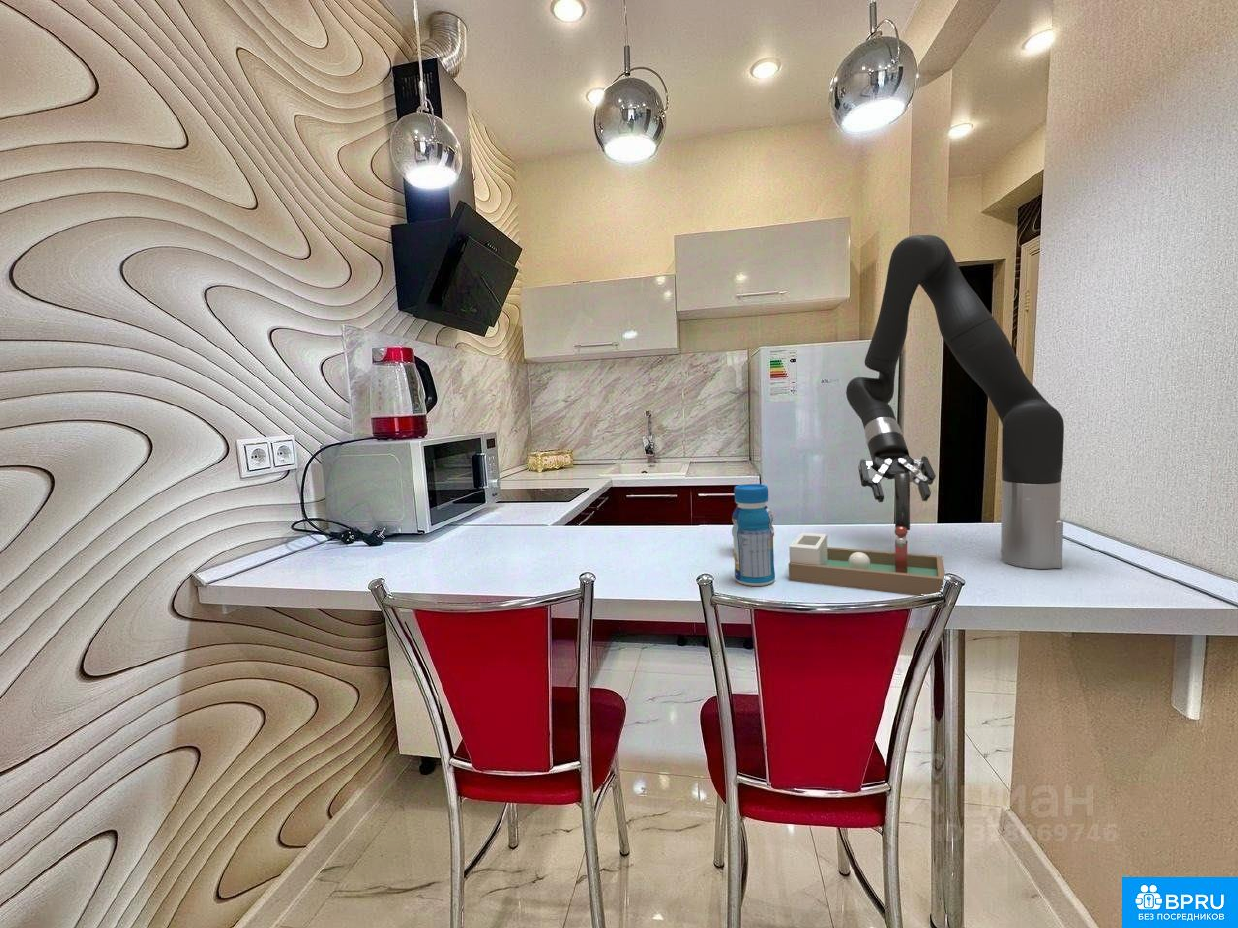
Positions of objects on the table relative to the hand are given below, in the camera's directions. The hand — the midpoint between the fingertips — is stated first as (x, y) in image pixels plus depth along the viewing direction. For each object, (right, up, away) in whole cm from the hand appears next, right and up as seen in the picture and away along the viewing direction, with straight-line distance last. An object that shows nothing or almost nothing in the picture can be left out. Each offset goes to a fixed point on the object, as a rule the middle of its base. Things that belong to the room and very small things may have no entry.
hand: (903, 499), depth 103 cm
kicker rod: (-2, -14, -2) cm, 14 cm away
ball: (-11, -13, -2) cm, 17 cm away
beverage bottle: (-31, -17, 0) cm, 36 cm away
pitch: (-10, -16, -3) cm, 19 cm away
